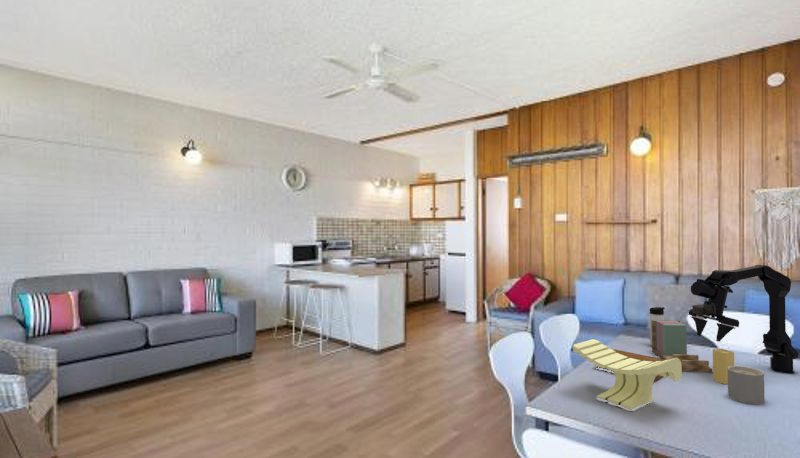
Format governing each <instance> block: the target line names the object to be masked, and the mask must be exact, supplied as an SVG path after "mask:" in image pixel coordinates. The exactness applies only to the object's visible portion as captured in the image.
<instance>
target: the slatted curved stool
mask: <svg viewBox="0 0 800 458" xmlns="http://www.w3.org/2000/svg"><path fill="white" fill-rule="evenodd" d="M572 353H575V354H579V357H581V358H586V361H587V362H589V363H593V366H594V367H597V366H598V367H601V368H607V369H608V370H612V371H613V372H614V374H613V375H614V376H615V383H614V385H613V386H612V387H611V388H609V389H608V390H606V391H604V392H601V393H600V394H597V396H596V398H600V399H603V400H607V401H608V402H611V403H613V404H616V405H621V406H622V407H624V408H627V409H629V410H632V409H634V408H636V407H638V406H641V405H643V404H646V403H648V402H651V401H652V402H653V385H654V383H653V382H654V379H655V377H656V376H657V375H660V376H663V378H669V379H670V380H672V381H675V382H677V381H679V380H681V379H683V375H682V374H683V372H682V365H681V361H680V359H679V358H673V359H671V360H664V361H656V362H653V361H641V360H637V359H633V358H629V359H628V357H627V356H624V355H621V354H619V353H616V351H614V349H611V348H610V347H609V346H607V345H605V344H603V343H602V341H599V340H598V339H593V338H592V339H589V340H586V341H580V342H578V343H575V344H573V345H572Z"/></svg>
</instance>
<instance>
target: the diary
mask: <svg viewBox="0 0 800 458" xmlns="http://www.w3.org/2000/svg"><path fill="white" fill-rule="evenodd" d="M613 350H614V351H616V353H619V354H621V355H624V356H627V357H628V359H629V358H633V359H637V360H641V361H653V362H656V361H664V360H665V359H661V358H660V357H654V356H650V355H645V354H640V353H633V352H629V351H625V350H620V349H614V348H613ZM597 367H598V366H596V368H597ZM599 368H601V367H599ZM603 369H607V368H603ZM607 370H608V369H607ZM611 371H612V370H611ZM663 378H664V377H663V376H660V375H657V376H656V377H655V379H654V382H655V383H656V382H658V381H659V380H661V379H663ZM654 382H653V384H654Z"/></svg>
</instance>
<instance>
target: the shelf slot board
mask: <svg viewBox="0 0 800 458" xmlns="http://www.w3.org/2000/svg"><path fill="white" fill-rule="evenodd" d="M656 321H678V322H680V323H681V321H680V320H678V319H677V320H676V319H675V320H673V319H672V320H671V319H664V320H651V328H652V347H651V353H653V354H654V355H656V356H657V357H658V356H659V357H658V358H660V359H661V358H662V359H665V360H671V359H673V358H679V359H680V361H681V365H682V373H711V374H713V367H712V368H711V367H710V361H709V360H702V359H701V360H699V355H698V354H688V353H687V355H684V354H672V356H665V355H664V354H662V353H661V352H659V351H658V350H657V341H656Z"/></svg>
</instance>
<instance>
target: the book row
mask: <svg viewBox="0 0 800 458" xmlns="http://www.w3.org/2000/svg"><path fill="white" fill-rule="evenodd" d="M687 335H688V334H687V325H686V324H685V323H684V324H683V323H682V322H681V321H680V322H678V321H656V341H657V350H658V351H659V352H661V353H662V354H664V355H665V356H672V354H684V355H687V354H688V343H687V342H688V340H687Z"/></svg>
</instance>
